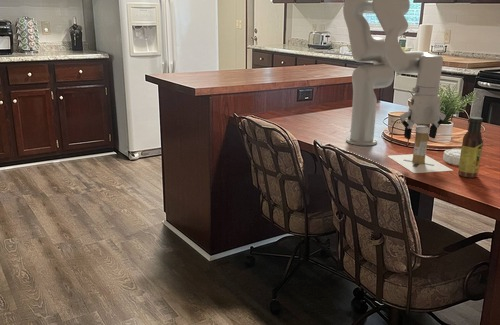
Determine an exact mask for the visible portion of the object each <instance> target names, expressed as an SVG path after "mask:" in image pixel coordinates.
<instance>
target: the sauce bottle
mask: <svg viewBox="0 0 500 325" xmlns="http://www.w3.org/2000/svg"><path fill="white" fill-rule="evenodd" d="M483 120H484V119H483V118H482V117H480V116H470V117H468V127H467V132H466V133H464V135H463V137H462V145H461V148H460V149H461V154H460V162H459V165H458V175H459V176H460V177H462V178H469V179H473V178H476V177H478V174H479V170H480V164H481V158H482V151H483V146H484V140H483V136H482V132H481V131H482V130H481V129H482V124H483Z"/></svg>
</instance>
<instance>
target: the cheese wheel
mask: <svg viewBox="0 0 500 325" xmlns="http://www.w3.org/2000/svg"><path fill="white" fill-rule="evenodd" d="M460 154H461V148H451V149H446V150H444V151H443V156H442V160H443V162H445V163H448V164H451V165H453V166H459V162H460Z"/></svg>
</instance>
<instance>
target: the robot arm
mask: <svg viewBox="0 0 500 325" xmlns="http://www.w3.org/2000/svg"><path fill="white" fill-rule="evenodd" d="M410 6H411V2H410V0H344V2H343V9H342V10H343V11H342V12H343V18H344V22H345V25H346V28H347V31H348V38H349V44H350V51H351V55H352V59H353V60H354V61H355V62H357V63H373V64H364V65H363V64H362V65H359V66H357V67H355V69H354V70H353V72H352V75H351V83H352V108H351V109H352V111H351V122H350V123H351V124H350V130H349V131H350V135H349V136H347V137H346V140H345V141H346V142H347V143H348V144H351V145H355V146H362V147H364V146H365V147H366V146H374V145H377V143H378V139H377V138H376V137H375V128H376V127H375V125H376V115H377V106H378V105H377V103H378V102H377V96H376V93H375V90H374V89H384V88H387V87H390V86H391V85H392V83H393V82H394V79H395V73H396V74H400V75H401V74H403V75H404V74H416V73H417V75H416V76H417V77H416V82H415V83H416V85H415V87H412V89H411V91H412V92H414V93H413V94H412V96H411V100H410V103H409V107H408V111H406V112H404V113H402V114H400V115H399V119H400V122H401V124H402V125H403V127H404V132H403V133H404V134H403V136H404V138H405V139H407V140H411V138H412V130H413V129H412V127H413V126H414V125H429V124H430V127H429V133H428V137H430V138H431V139H436V136H437V132H438V131H437V130H438V128H439V127H440V125H441V124H442V123H443V122H444V120H445V118H446V117H447V115H446V114H445V113H443V112H442V111H441V95H439V89H440V82H441V76H442V70H443V64H444V58H443V56H442V55H440V54H434V53H428V52H426V51H423V50H410V51H404V50H403V48H402V47H401V45H400V42H399V37H400V36H402V35H403V34H404V33H405V32H406V31H407V30H408V28H409V22H408V20H407V19H406V17H405V15H406V14H407V13H408V12H409V11H410ZM364 14H375V17H376V18H377V20H378V22H379V24H380V26H381V28H382V30H383V32H384V34H385V38H383V37H373V36H372V33H371V26H370V24H369V21H367V19H366V18H365V16H364ZM406 118H407V120H406Z"/></svg>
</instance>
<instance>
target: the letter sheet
mask: <svg viewBox="0 0 500 325" xmlns="http://www.w3.org/2000/svg"><path fill="white" fill-rule="evenodd" d="M387 157H388V158H389V159H391V160H393V161H394V162H395V163H398V164H399V165H400V166H402V167H404V168H405V169H406V170H407V171H410V172H411V173H412V174H425V173H439V172H440V173H441V172H453V171H454V170H453V169H452V168H450V167H448V166H446V165H444V164H443V163H440V162H439V161H437V160H435V159H434V158H432V157H430V156H428V155H427V154H426V155H425V163H424V164H415V163H413V162H412V160H413V153H411V154H394V155H393V154H391V155H387Z"/></svg>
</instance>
